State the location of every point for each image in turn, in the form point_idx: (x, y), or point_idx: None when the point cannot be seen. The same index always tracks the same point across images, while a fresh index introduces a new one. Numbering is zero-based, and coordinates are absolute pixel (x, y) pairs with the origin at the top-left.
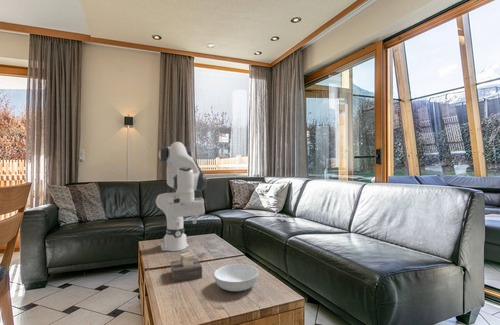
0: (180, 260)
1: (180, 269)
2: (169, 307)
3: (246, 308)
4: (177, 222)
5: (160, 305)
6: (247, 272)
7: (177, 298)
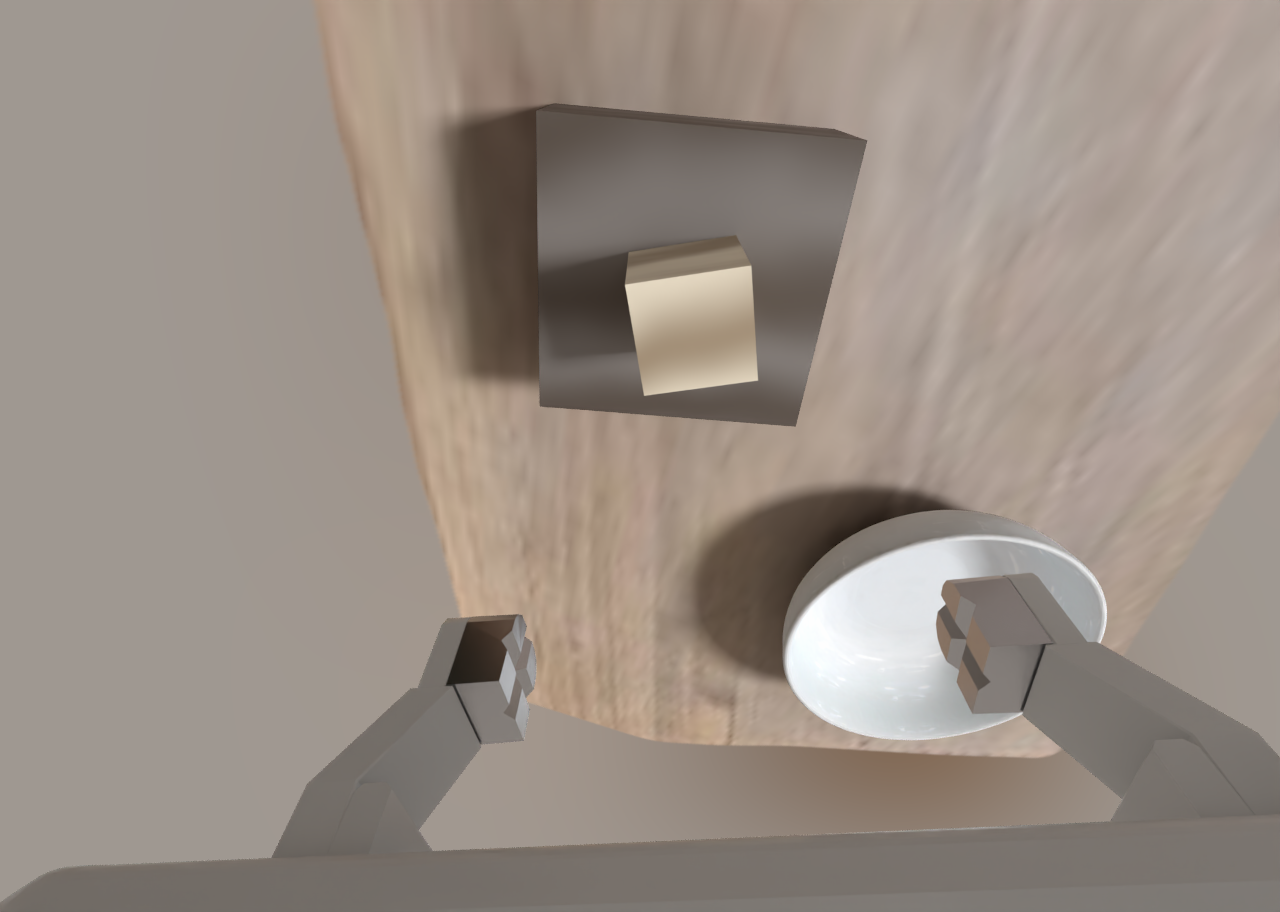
0: (627, 263)
1: (602, 398)
2: None
3: (813, 734)
4: (483, 719)
5: (465, 594)
6: (1055, 573)
7: (554, 569)
